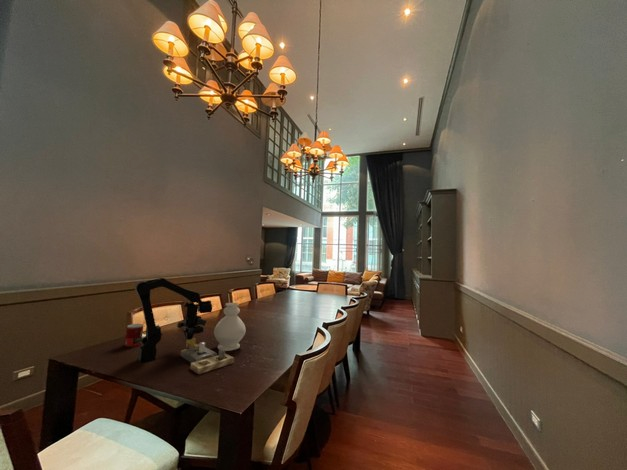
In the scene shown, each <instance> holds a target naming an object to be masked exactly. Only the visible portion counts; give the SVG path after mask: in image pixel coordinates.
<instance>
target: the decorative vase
mask: <svg viewBox="0 0 627 470" xmlns="http://www.w3.org/2000/svg"><path fill="white" fill-rule="evenodd" d="M239 305H240V304H239V302H226V303H225V308H224V309H223V314H224V315H225V316H224V317H222V318H221V319H220V321H218V322H217V324H216V325H215V328H214V331H213V335H214V337H215V339H216V341H217V342H218V343H219V344H218V345H217V349H218V351H219V350H225V352H228V351H229V352H230V351H234V350H235V351H236V350H238V349H239V348H240V347H241V345H240V342H241V340H242V339H243V338H244V336H245V335H246V326H245V322H243V321H242V319H241V318H240V317H239V316H238V314H240V312H241V310H240V308H239V307H238V306H239Z"/></svg>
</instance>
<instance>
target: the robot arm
mask: <svg viewBox="0 0 627 470" xmlns="http://www.w3.org/2000/svg"><path fill="white" fill-rule="evenodd" d="M160 287H163V288H166V289H167V290H170V291H172V292H174V293H176V294H178V295H180V296H181V297H183V299H186V300H187V301H185V303H183V304H182V306H183V307H184V308H185V309H186V310H185V315H183V319H185V320H184V321H178V323H177V328H179V329H181V328H182V327H183V329H181V331H182V333H183V335H184V338H185V341H187V339H192V338H194V335H197V334H202V333H204V330H205V328H204V327H205V326H206V324H207V320H206V319H204V318H202V316H199V315H198V312H199V313H200V314H208V313H209V314H210V313H212V311H213V305H212V300H202V299H201V295H200V293H199V292H198V291H195V290H191V289H187V288H184V287H182V286H180V285H178V284H176V283H174V282H172V281H170V280H167V279H166V278H165V277H159V278H155V279H150V280H147V281H145V280H139V281H137V282H136V283H135V285H134V291H135V292H136V293H137V296H138V298H139V301H140V303H141V308H142V312H143V316H144V322H145V337H142V340H141V341H140V343H141V345H140V346H139V351H138V357H137V361H139V362H140V363H142V364H143V363H146V362H150V361H154V360H157V344H158V343H159V342H160V341H161V340H162V336H163V334H162V329H161V326H160V325H159V324H158V325H156V322H155V321H156V320H155V316H154V312H153V308H152V303H151V299H150V298H151V290H155V289H158V288H160Z"/></svg>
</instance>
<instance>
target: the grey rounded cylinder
mask: <svg viewBox="0 0 627 470" xmlns="http://www.w3.org/2000/svg"><path fill="white" fill-rule="evenodd" d="M198 345H199V350H198V355H202V354H204V353H205V347H206V342H205V341H200V342H199V343H198Z"/></svg>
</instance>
